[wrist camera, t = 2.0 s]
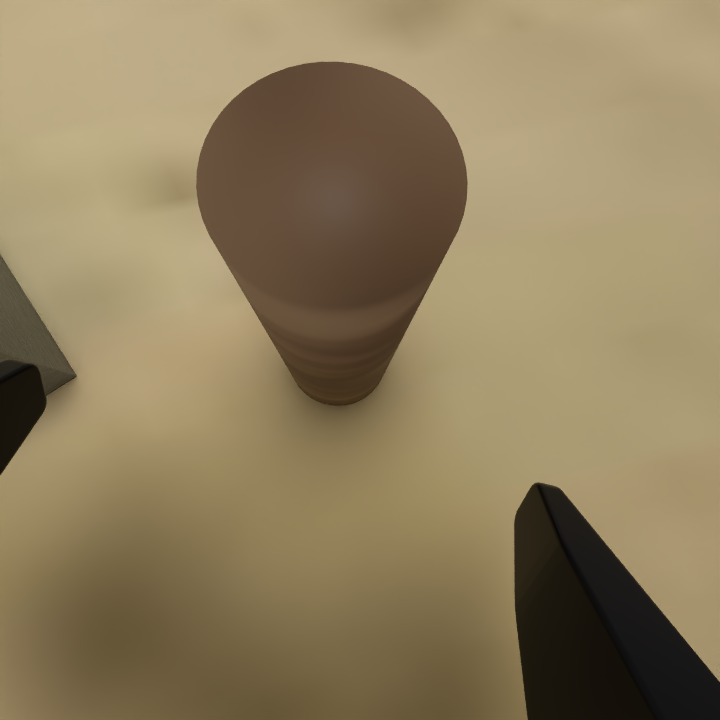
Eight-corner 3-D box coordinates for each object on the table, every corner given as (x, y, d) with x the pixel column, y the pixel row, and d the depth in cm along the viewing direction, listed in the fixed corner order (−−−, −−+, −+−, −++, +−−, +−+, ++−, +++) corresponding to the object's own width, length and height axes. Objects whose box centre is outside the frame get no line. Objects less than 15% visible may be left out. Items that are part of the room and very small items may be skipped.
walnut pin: (326, 425, 19) (298, 362, 6) (270, 346, 20) (144, 145, 7) (405, 368, 20) (521, 207, 7) (348, 293, 20) (363, 20, 8)
